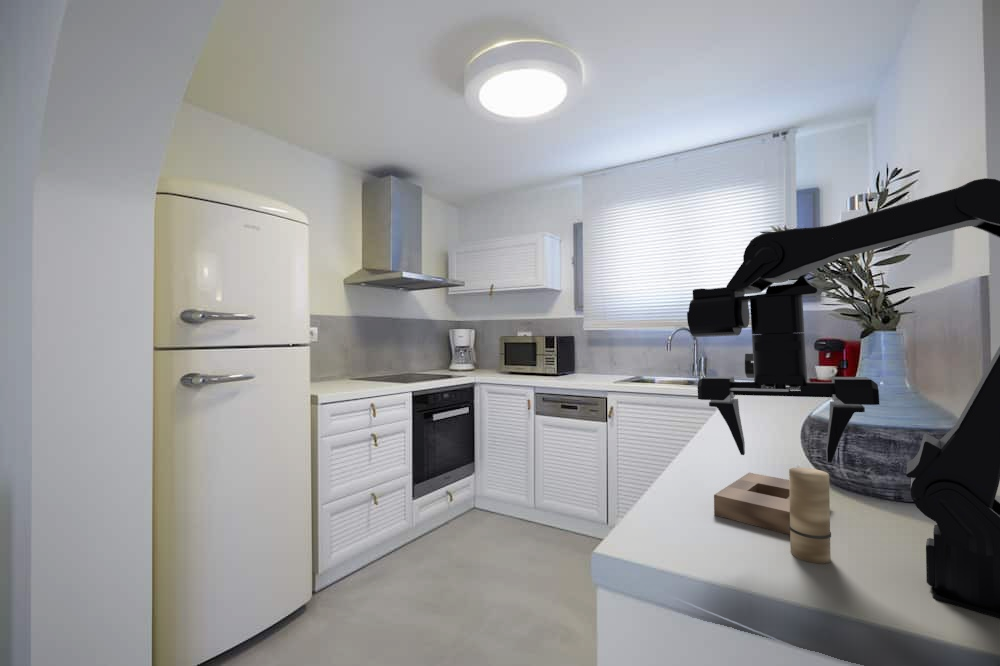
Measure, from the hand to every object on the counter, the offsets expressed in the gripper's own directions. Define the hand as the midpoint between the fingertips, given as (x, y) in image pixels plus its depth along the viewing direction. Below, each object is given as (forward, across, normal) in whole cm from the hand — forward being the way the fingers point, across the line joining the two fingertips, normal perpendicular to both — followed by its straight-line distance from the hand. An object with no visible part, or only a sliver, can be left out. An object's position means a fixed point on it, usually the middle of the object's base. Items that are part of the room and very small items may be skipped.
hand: (784, 458), depth 57 cm
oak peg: (+11, -2, +1) cm, 12 cm away
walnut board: (+11, +2, -14) cm, 18 cm away
